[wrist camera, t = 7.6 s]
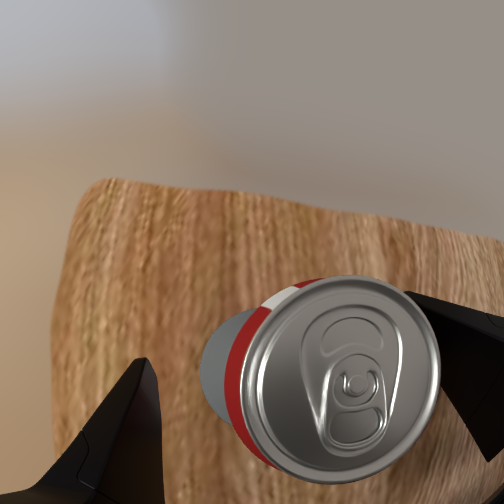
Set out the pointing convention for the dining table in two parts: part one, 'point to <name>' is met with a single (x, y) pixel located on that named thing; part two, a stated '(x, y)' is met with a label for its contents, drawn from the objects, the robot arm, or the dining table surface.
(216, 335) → the coaster
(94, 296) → the dining table surface
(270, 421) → the soda can
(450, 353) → the robot arm
